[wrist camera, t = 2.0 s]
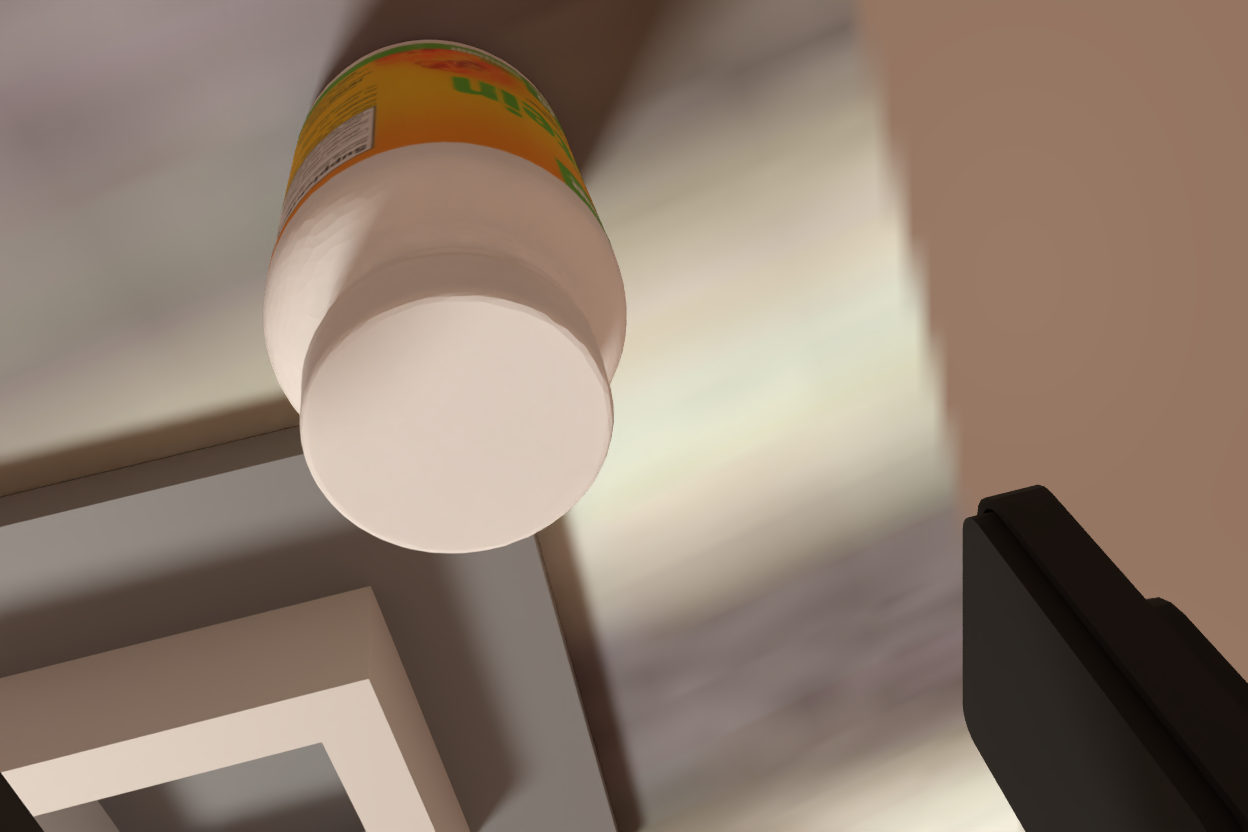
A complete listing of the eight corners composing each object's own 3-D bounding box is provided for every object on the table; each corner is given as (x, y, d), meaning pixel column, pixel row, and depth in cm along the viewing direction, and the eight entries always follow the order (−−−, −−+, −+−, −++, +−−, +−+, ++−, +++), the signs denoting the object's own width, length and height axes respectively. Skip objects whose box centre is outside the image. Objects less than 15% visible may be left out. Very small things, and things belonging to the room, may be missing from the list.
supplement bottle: (622, 161, 22) (753, 406, 14) (451, 338, 24) (483, 652, 16) (416, -30, 20) (436, 139, 12) (239, 182, 21) (146, 464, 13)
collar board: (-318, 573, 23) (-442, 722, 20) (493, 379, 24) (510, 487, 21) (60, 998, 33) (21, 1147, 30) (623, 848, 34) (649, 973, 31)
